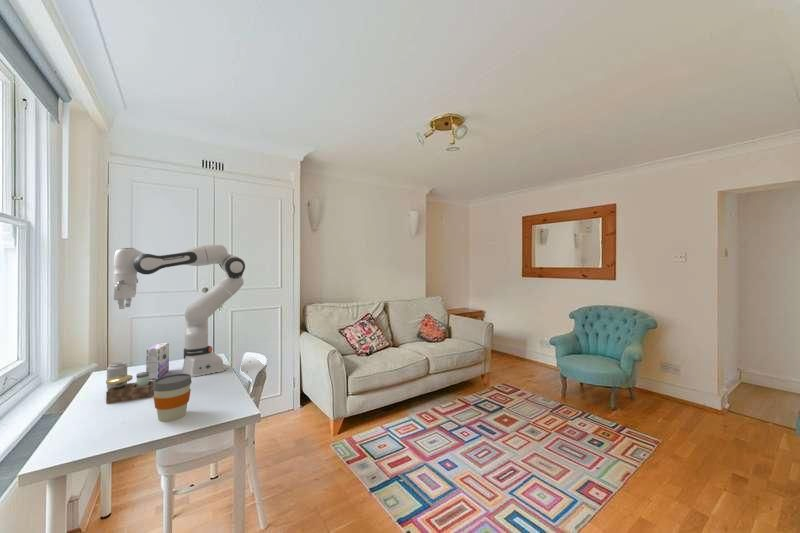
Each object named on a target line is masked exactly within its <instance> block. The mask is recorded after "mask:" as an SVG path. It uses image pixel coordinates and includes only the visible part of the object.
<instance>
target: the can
mask: <svg viewBox="0 0 800 533" xmlns="http://www.w3.org/2000/svg"><path fill="white" fill-rule="evenodd" d="M123 375H128V364H126V361H118V362H113V363H110V364H109V365H108V367H106V380H107V379H109V378H113V377H117V376H123ZM127 383H128V381H127V382H124V384H127ZM113 385H115V384H106V389H107V390H109V389H110V388H111V387H112V386H113Z"/></svg>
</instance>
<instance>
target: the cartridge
mask: <svg viewBox="0 0 800 533" xmlns="http://www.w3.org/2000/svg"><path fill="white" fill-rule="evenodd" d="M135 377H136V382H137V387H140V386H147V385H149V381H150V380H149V372H146V371H142V372H139V373H137V374H136V376H135Z"/></svg>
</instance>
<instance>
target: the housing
mask: <svg viewBox="0 0 800 533" xmlns="http://www.w3.org/2000/svg"><path fill="white" fill-rule="evenodd" d="M154 380H155V379H153V380H149V385H147V386H140V387H137V381H135V382H127V384H124V388H120V389H115V385H113V386H112V387H111V388H110V389H107V391H106V392H105V393H106V396H105V404H106V405H107V404H115V403H119V402H125V401H133V400H139V399H146V398H151V397H152V396H154V390H153V383H154Z"/></svg>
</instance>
